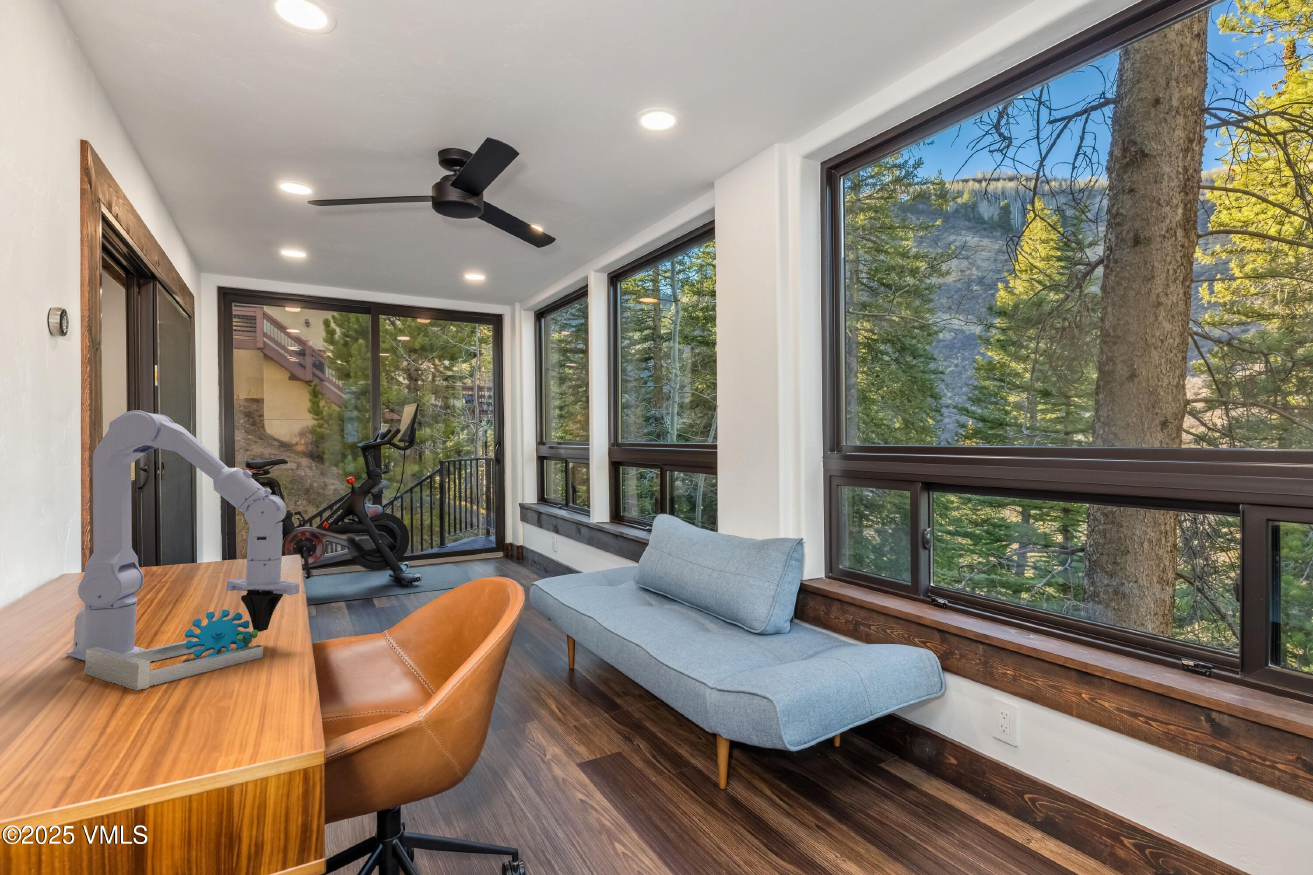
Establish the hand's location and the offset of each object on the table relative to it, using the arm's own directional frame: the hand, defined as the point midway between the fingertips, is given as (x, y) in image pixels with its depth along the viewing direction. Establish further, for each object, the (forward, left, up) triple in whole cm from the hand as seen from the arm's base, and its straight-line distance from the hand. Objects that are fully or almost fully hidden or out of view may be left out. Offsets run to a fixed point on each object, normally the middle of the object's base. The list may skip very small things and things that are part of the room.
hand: (260, 630), depth 122 cm
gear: (0, -7, -3) cm, 8 cm away
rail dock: (0, -14, -3) cm, 14 cm away
